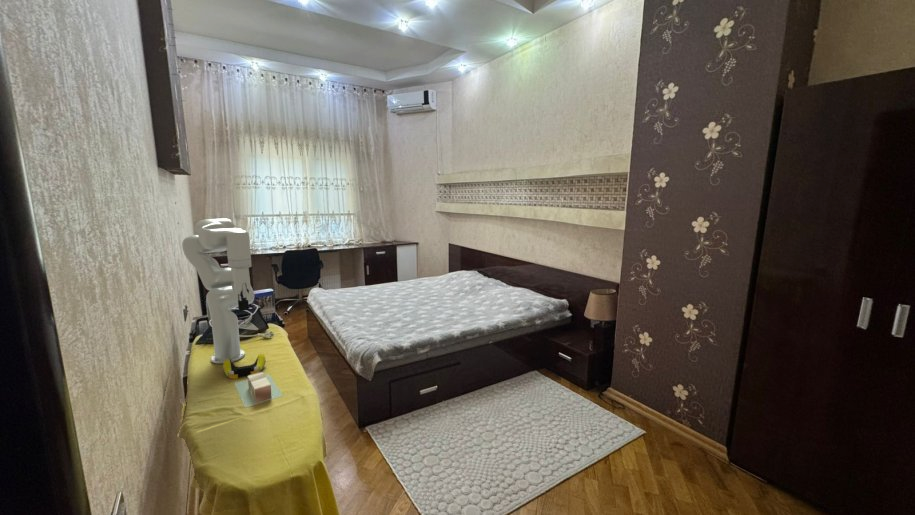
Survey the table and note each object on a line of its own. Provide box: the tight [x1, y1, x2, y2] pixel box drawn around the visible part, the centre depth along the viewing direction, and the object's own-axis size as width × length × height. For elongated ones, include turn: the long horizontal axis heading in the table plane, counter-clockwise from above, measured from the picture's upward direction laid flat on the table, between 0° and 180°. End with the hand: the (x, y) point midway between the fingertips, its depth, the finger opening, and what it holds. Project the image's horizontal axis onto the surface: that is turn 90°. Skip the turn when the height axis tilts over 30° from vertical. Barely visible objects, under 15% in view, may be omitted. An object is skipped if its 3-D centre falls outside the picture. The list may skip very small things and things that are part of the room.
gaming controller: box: [222, 353, 266, 380], centre depth 148 cm, size 15×6×10 cm
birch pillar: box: [247, 371, 272, 403], centre depth 133 cm, size 5×5×12 cm
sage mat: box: [234, 373, 283, 409], centre depth 136 cm, size 20×12×1 cm, turn 40°
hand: (243, 309), depth 142 cm, fingers closed
